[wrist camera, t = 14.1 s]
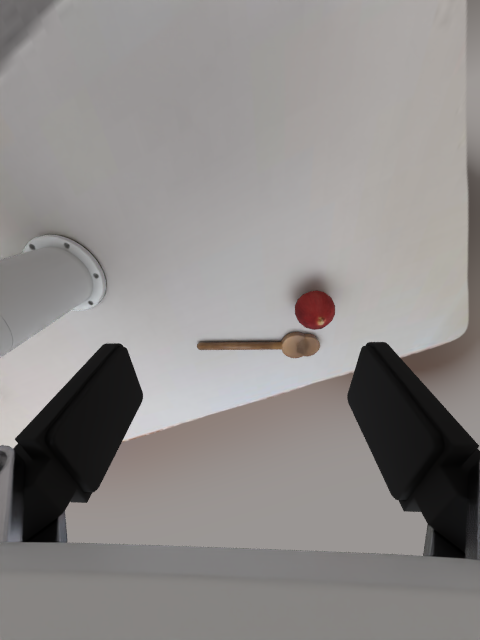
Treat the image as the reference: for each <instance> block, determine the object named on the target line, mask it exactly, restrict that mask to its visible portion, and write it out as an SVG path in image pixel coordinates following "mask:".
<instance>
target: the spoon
mask: <svg viewBox="0 0 480 640" xmlns="http://www.w3.org/2000/svg"><path fill="white" fill-rule="evenodd" d="M197 348H198V349H199V350H262V349H282V351H283V353H284V354H285V355H286V356H288V357H291V358H299V357H302V356H311V355H313V354H315V353H316V352H317V351H318V350H319V348H320V343H319V341H318V339H317V337H316V336H314V335H312V334H303V333H301V332H292V333H289V334H287V335H286V336H284V338H283V339H282V341H281V342H200V343H198V344H197Z"/></svg>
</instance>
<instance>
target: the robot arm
mask: <svg viewBox="0 0 480 640" xmlns="http://www.w3.org/2000/svg"><path fill="white" fill-rule="evenodd" d="M105 292H106V280H105V276H104V273H103V271H102V269H101V267H100V265H99V263H98V262H97V261H96V259H95V258H94V257H93V256H92V255H91V253H90V252H89V251H87V250H86V249H85V248H84V247H83V246H81V245H80V244H78V243H76V242H75V241H73V240H71V239H68V238H66V237H63V236H59V235H44V236H39V237H36V238H34V239H32V240H30V241H29V242H28V243H27V244H26V245H25V247H24V250H23V253H22V254H19V255H15V256H12V257H8V258H4V259H1V260H0V358H1V357H2V356H4V355H5V354H7V353H8V352H10V351H11V350H13V349H14V348H16V347H17V346H19V345H20V344H22V343H23V342H25V341H26V340H28V339H29V338H31V337H32V336H34V335H35V334H37V333H38V332H40V331H41V330H43V329H44V328H46V327H47V326H49V325H50V324H52V323H53V322H55V321H56V320H57V319H59V318H60V317H62V316H63V315H65V314H66V313H68V312H69V311H71V310H75V311H82V310H88V309H91V308H93V307H94V306H96V305H97V304H98V303H99V302H101V300H102V299H103V297H104V295H105ZM142 399H143V393H142V390H141V387H140V384H139V381H138V379H137V376H136V373H135V370H134V367H133V365H132V362H131V359H130V356H129V353H128V350H127V348H125V347H123V345H121V344H104V345H103V346H102V347H101V348H100V349H99V350H98V351H97V352H96V353H95V354H94V355H93V356H92V357H91V358H90V359H89V360H88V361H87V363H86V364H85V365H84V366H83V367H82V368H81V369H80V370H79V371H78V372H77V373H76V374H75V375H74V376H73V377H72V379H71V380H70V381H69V382H68V383H67V384H66V385H65V386H64V387H63V388H62V389H61V390H60V391H59V392H58V393H57V395H56V396H55V397H54V398H53V399H52V400H51V401H50V402H49V403H48V404H47V405H46V406H45V407H44V408H43V410H42V411H41V412H40V413H39V414H38V415H37V416H36V417H35V418H34V419H33V420H32V421H31V422H30V423H29V424H28V426H27V427H26V428H25V429H24V430H23V431H22V432H21V433H20V434H19V435H18V436H17V437H16V438H15V440H16V441H17V442H18V444H17V445H16V446H15V448H14V449H12V448H11V447H10V446H4V445H2V446H0V640H480V451H479V450H478V449H477V448H478V447H479V445H478V444H477V443H476V442H475V441H474V440H473V438H472V437H471V436H470V435H469V434H468V433H467V432H466V431H465V430H464V429H463V427H462V426H461V425H460V424H459V423H458V422H457V421H456V420H455V419H454V418H453V416H452V415H451V414H450V413H449V412H448V411H447V410H446V408H444V406H443V405H442V404H441V403H440V402H439V401H438V400H437V398H436V397H435V396H434V395H433V394H432V393H431V392H430V391H429V389H427V387H426V386H425V385H424V384H423V383H422V382H421V381H420V380H419V378H418V377H417V376H416V375H415V374H414V373H413V372H412V371H411V369H410V368H409V367H408V366H407V365H406V364H405V363H404V362H403V361H402V359H401V358H400V357H399V356H398V355H397V354H396V353H395V352H394V351H393V349H392V348H391V347H390V346H389V345H388V344H387V343H385V342H369V343H367V344H366V346H363V347H362V349H361V352H360V355H359V358H358V362H357V365H356V368H355V371H354V375H353V378H352V382H351V385H350V388H349V391H348V403H349V405H350V407H351V409H352V411H353V414H354V416H355V418H356V420H357V422H358V424H359V426H360V429H361V431H362V433H363V435H364V437H365V439H366V441H367V443H368V445H369V448H370V450H371V452H372V454H373V456H374V458H375V461H376V463H377V465H378V467H379V469H380V471H381V473H382V476H383V478H384V480H385V482H386V484H387V486H388V489H389V491H390V493H391V495H392V496H393V497H394V498H395V499H396V500H399V502H400V504H401V506H402V508H403V510H404V511H413V512H422V514H423V516H424V518H425V519H426V521H427V523H428V526H427V534H426V540H425V546H424V553H423V556H413V555H397V554H376V553H351V552H327V551H302V550H276V549H249V548H221V547H191V546H190V547H189V546H162V545H128V544H97V543H96V544H95V543H67V531H66V519H65V509H66V507H67V506H68V504H69V502H82V503H87V502H88V500H89V498H90V496H91V494H92V492H95V491H96V490H97V489H98V487H99V486H100V484H101V482H102V480H103V478H104V476H105V474H106V472H107V470H108V468H109V466H110V464H111V462H112V460H113V458H114V456H115V454H116V452H117V450H118V448H119V446H120V444H121V442H122V440H123V438H124V436H125V434H126V432H127V430H128V428H129V426H130V424H131V422H132V420H133V418H134V416H135V414H136V412H137V410H138V408H139V406H140V404H141V402H142Z"/></svg>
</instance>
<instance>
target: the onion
mask: <svg viewBox="0 0 480 640" xmlns="http://www.w3.org/2000/svg"><path fill="white" fill-rule="evenodd" d="M295 315H296V317H297V319H298V321H299V322H300V323H301V324H302V325H303V326H305V327H306V328H310V329H314V330H315V329H322V328H323V327H325V326H326V325H328V324H329V323H330V322H331V321H332V320H333V317H334V315H335V305H334V303H333V301H332V298H331V297H330V296H328V295H327V294H326V293H324V292H321V291H310V292H308V293H305V294H303V295H302V296H301V297H300V298H299V299H298V300H297V303H296V305H295Z"/></svg>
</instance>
